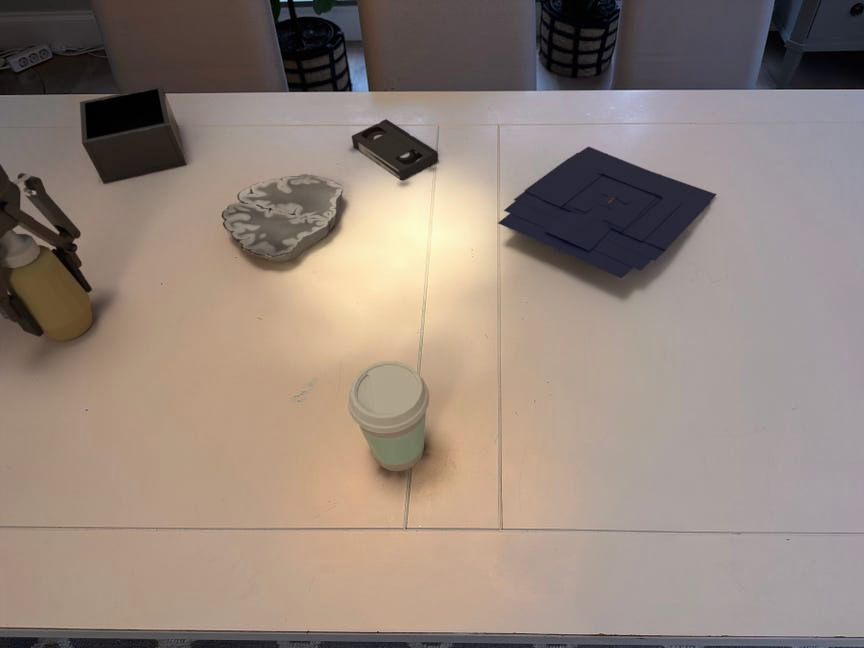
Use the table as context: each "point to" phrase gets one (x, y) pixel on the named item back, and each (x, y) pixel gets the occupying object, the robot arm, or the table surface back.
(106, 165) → the box
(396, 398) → the coffee cup
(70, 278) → the squeeze bottle
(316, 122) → the table surface
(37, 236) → the robot arm
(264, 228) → the brain slice
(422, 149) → the vhs tape
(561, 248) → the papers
